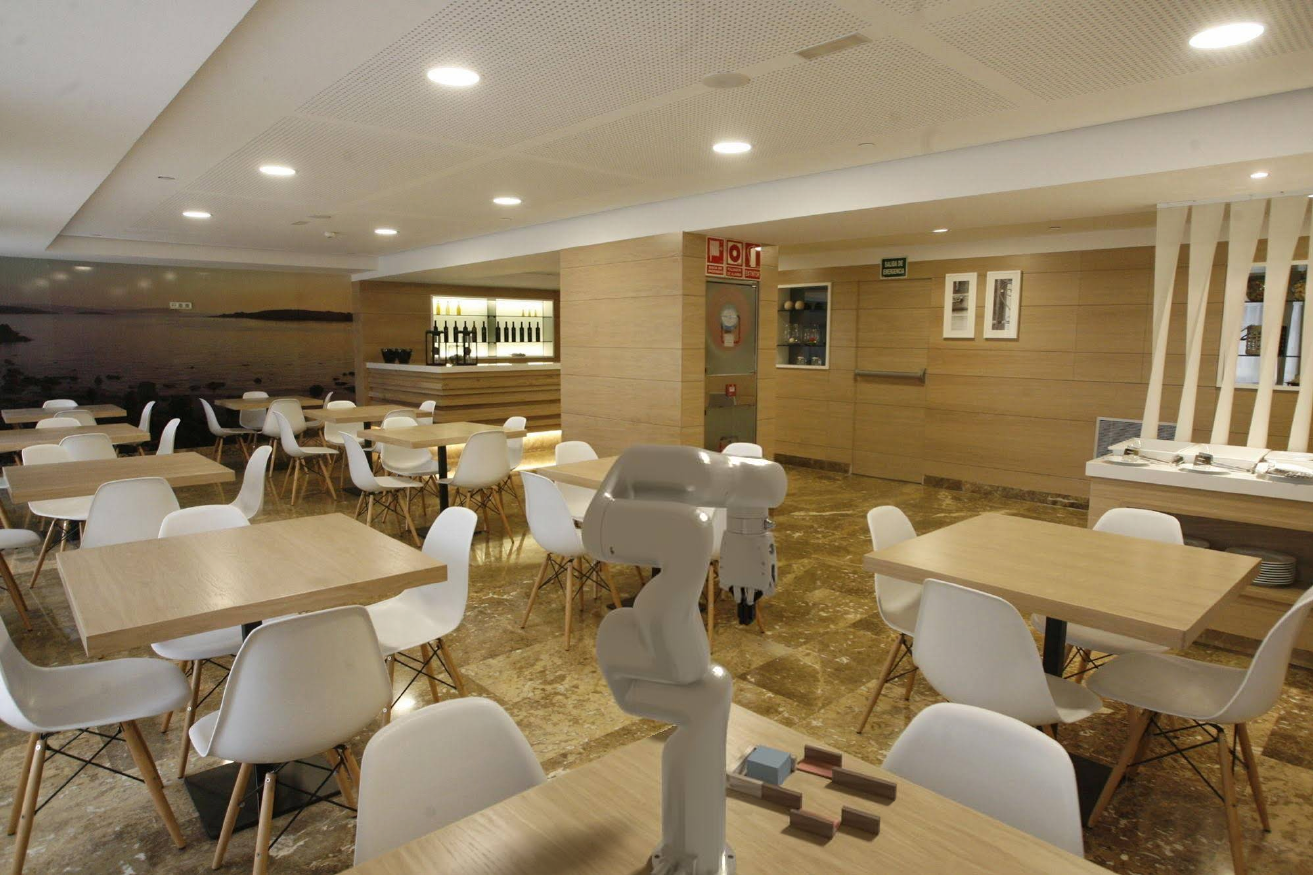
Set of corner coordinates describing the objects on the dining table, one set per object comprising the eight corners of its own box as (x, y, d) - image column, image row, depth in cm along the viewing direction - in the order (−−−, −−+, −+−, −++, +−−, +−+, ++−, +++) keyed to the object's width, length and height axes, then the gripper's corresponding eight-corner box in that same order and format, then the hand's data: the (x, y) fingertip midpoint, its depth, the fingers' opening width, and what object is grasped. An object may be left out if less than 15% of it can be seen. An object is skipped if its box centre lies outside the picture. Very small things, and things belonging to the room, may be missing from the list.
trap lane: (870, 851, 116) (870, 836, 116) (712, 800, 130) (712, 786, 130) (902, 783, 135) (903, 770, 134) (761, 745, 148) (761, 732, 148)
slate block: (777, 790, 133) (778, 768, 133) (746, 780, 136) (746, 759, 136) (790, 774, 138) (790, 753, 138) (760, 765, 142) (760, 744, 141)
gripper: (794, 525, 136) (792, 624, 138) (719, 516, 144) (718, 610, 146) (778, 533, 130) (777, 637, 132) (700, 524, 138) (700, 622, 139)
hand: (746, 622), depth 139 cm, fingers closed
